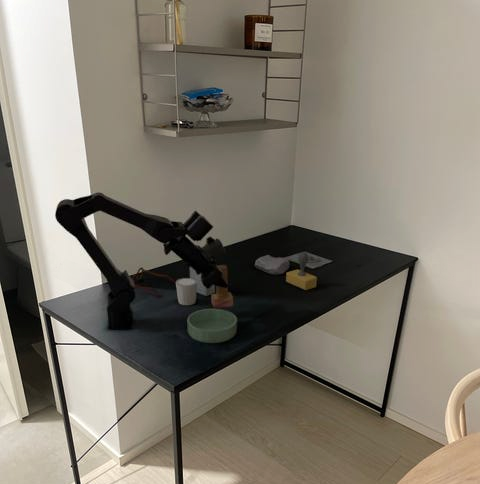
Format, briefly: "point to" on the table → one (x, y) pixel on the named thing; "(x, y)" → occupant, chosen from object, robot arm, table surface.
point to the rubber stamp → (301, 275)
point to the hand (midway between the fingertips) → (225, 284)
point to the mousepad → (310, 260)
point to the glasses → (150, 273)
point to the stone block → (272, 264)
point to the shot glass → (186, 291)
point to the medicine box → (200, 286)
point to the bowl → (212, 325)
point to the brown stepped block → (222, 292)
